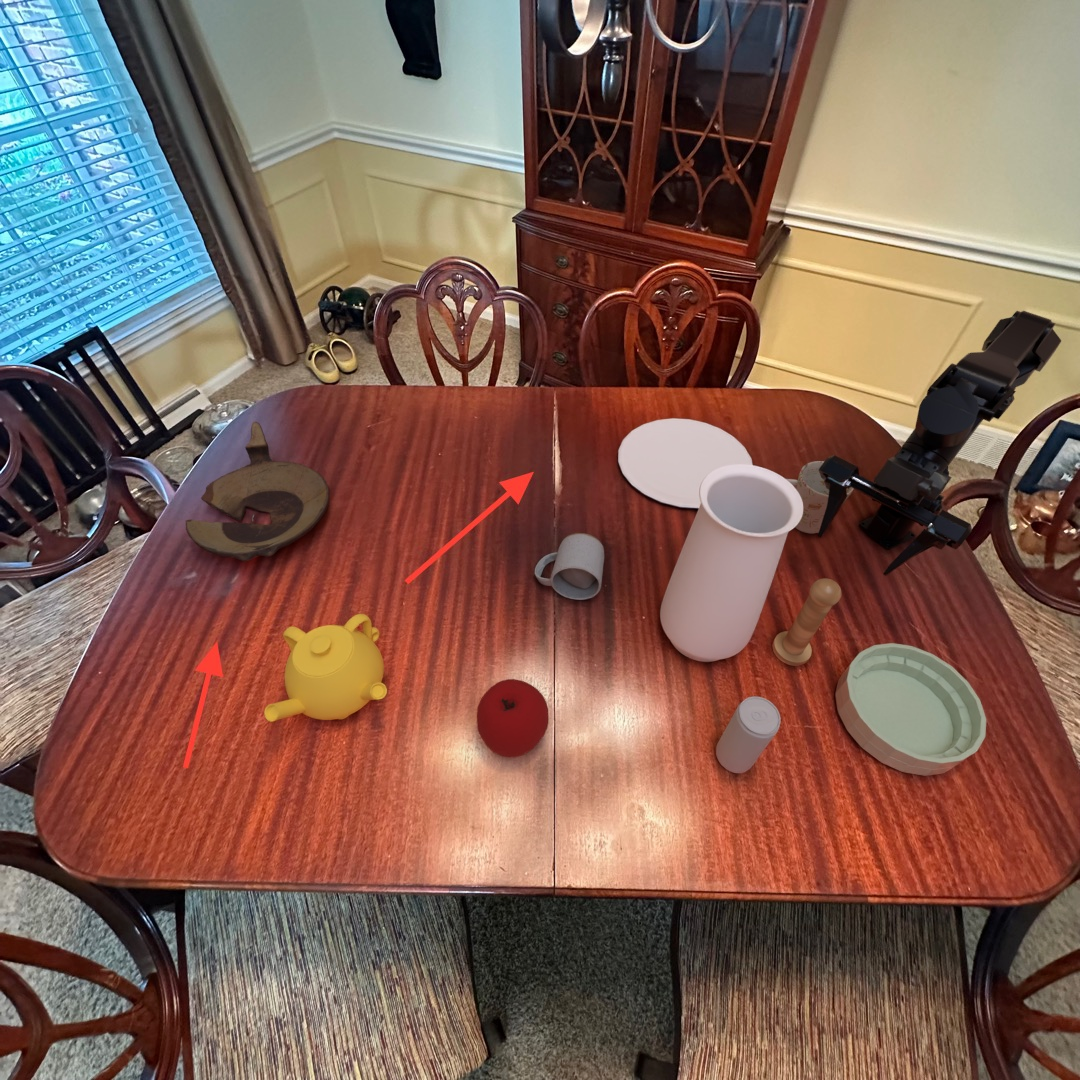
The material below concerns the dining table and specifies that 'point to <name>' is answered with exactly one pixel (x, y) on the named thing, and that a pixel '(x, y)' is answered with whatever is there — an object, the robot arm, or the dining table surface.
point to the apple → (512, 717)
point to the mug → (812, 497)
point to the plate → (677, 458)
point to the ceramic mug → (575, 567)
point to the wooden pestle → (806, 623)
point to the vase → (728, 561)
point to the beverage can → (747, 734)
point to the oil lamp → (261, 504)
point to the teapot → (331, 671)
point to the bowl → (910, 709)
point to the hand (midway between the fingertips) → (850, 555)
